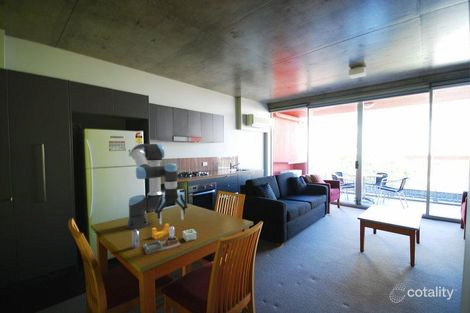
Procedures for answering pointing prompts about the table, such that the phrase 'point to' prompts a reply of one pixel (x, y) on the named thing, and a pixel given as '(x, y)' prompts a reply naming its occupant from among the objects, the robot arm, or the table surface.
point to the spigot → (135, 238)
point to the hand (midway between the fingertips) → (171, 221)
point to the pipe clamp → (160, 234)
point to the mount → (161, 245)
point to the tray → (189, 235)
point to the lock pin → (171, 233)
